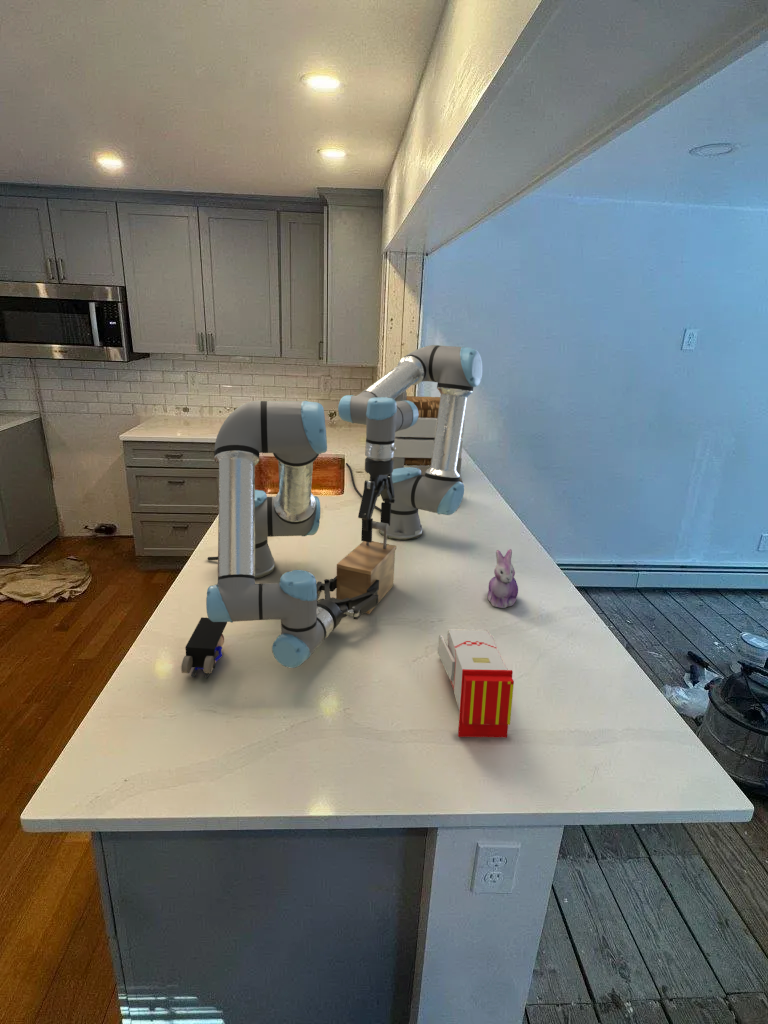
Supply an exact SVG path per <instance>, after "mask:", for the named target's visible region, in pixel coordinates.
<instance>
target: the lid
mask: <svg viewBox="0 0 768 1024" xmlns="http://www.w3.org/2000/svg"><path fill="white" fill-rule="evenodd" d="M388 528H389V524H387V523H382V522H381V521H377V520H376V521H375V520H373V525H372V530H378V531H379V530H383V531H384V536H383V542H379V541H373V540H372V542H366V541H361V543H360V544H358V545H356V547H355V548H354V549H353V550H351V551H350V552H349V553H348V554H347V555H346V556H344V558H342V559H341V560H340V561H339V562H338V563H336V569H337V568H341V569H345V570H350V571H355V572H359V573H364V574H369V575H371V574H372V573H373V572H374V571H375V570H376V569H377V568H378V567H379V566H380V565H381V564H382V563H383V562H384V561H385V560H386V559H387V558H388V557H389V556H390V555H391V554H392V553H393V552H394V551H395V552H396V550H397V545H394V544H390V543H387V540H388V538H387V530H388Z"/></svg>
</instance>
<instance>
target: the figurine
mask: <svg viewBox="0 0 768 1024" xmlns="http://www.w3.org/2000/svg"><path fill="white" fill-rule="evenodd" d="M495 555H496V566H495V567H494V573H493V574H494V576H493V577H492V578H491V579H490V580H489V582H488V591H487V600H488V601H489V603H490V605H491V606H492V607H495V608H500V609H506V608H507V607H511V606H513V605H514V604H515V603H516V601H517V597H518V595H519V585H518V583H517V579H515V575H516V571H515V567H514V565H513V564H512V558H513V557H512V556H513V550H512V548H509V549H508V550H507V551H506V553H505V555H504V556H503V554H502V551H500V550H499V549H497V550H496V551H495Z"/></svg>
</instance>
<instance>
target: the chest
mask: <svg viewBox="0 0 768 1024" xmlns="http://www.w3.org/2000/svg"><path fill="white" fill-rule="evenodd" d="M395 560H396V550H395V551H394V552H393V553H392V554H391V555H390V556H389V557H388V558H387V559H386V560H385V561H384V562H383V563H382V564H381V565H380V566H379V567H378V568H377V569H376V570H375V571H374V572H373V573H372V574H371V575H369V574H364V573H359V572H355V571H350V570H345V569H341V568H337V567H336V576H337V585H336V589H335V590H336V592H335V593H336V594H335V598H336V599H341V600H342V599H345V598H349V599H350V598H353V597H356V596H359V595H362V594H364V593H367V589H368V588H369V587H370V586H371V585H372V584H373V583H374V582H375V581H376V580H379V590H378V592H377V595H379V596H378V604H379V603H381V601H382V600H383V598H384V597H385V596H386V595H387V594H388V593H389V592H390V590H391V589H392V588H393V587H394V578H395V577H394V576H395ZM376 607H377V606H375V607H373V608H372V609H370V610H369V611H367V612H365V613H364V614H368V615H370V614H371V613H372V611H374V609H375V608H376Z"/></svg>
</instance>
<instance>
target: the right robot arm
mask: <svg viewBox="0 0 768 1024" xmlns="http://www.w3.org/2000/svg"><path fill="white" fill-rule="evenodd" d="M482 378H483V360H482V357H481V354H480V352H479V351H478V350H477V349H475V348H472V347H466V346H453V345H438V344H429V345H425V346H423V347H420V348H418V349H414V350H413V351H411V352H409V353H408V354H406V355H404V356H403V357H401V358H400V360H399V361H398V363H397V365H396V366H395V367H393V368H392V369H391V370H390V371H388V372H387V373H386V374H384V375H383V376H381V377H380V378H379V379H377V380H376V381H375V382H373V383H372V384H371V385H369V386H368V387H367V388H365V389H364V390H362V391H361V392H359V394H357V395H353V394H351V395H349V394H346V395H343V396H342V397H341V398H340V400H339V403H338V406H337V410H338V415H339V418H340V419H341V421H344V422H347V423H351V424H357V425H364V426H365V427H366V431H365V435H366V436H365V449H364V453H365V454H364V455H365V459H364V471H365V473H367V474H369V480H365V481H364V483H363V484H364V485H363V492H362V493H361V492H360V491H359V490H358V487H357V485H356V483H355V480H354V475H353V473H354V472H353V470H352V467H351V466H350V465H349V463H347V462H346V463H345V465H346V466H347V468H348V469H349V472H350V477H351V478H350V479H351V483H352V486H353V489H354V490H355V492H356V493H357V494H358V496H359V497H360V498H361V501H360V506H359V511H358V516H357V518H358V519H361V537H360V538H361V542H363V541H366V542H372V541H373V529H372V525H373V521H374V519H373V518H372V516H373V513H374V510H375V509H376V510H378V511H379V512H380V522H382V523H387V524H389V528H388V530H387V539H389V540H395V541H410V540H415V539H418V538H420V537H421V536H422V535H423V525H422V524H421V518H420V515H419V510H421V511H426V512H429V513H435V514H437V515H443V516H444V515H445V516H451V515H453V514H454V513H456V512H457V510H458V509H459V508H460V506H461V503H462V502H463V498H464V494H465V485H464V483H461V482H459V479H460V478H461V474H460V475H459V474H458V472H457V471H456V468H457V462H458V455H459V448H460V442H461V440H462V438H461V435H462V428H463V422H464V423H465V421H464V420H465V416H466V415H465V414H466V408H467V401H468V397H469V396H470V395H472V394H473V393H474V388H476V387H478V386H479V385H480V384H481V381H482ZM422 382H432V383H437V384H436V389H437V391H438V392H439V393H440V396H439V397H440V403H439V410H438V417H437V425H436V432H435V439H434V446H433V453H432V460H431V465H430V466H429V468H427V469H426V470H424V474H422V470H421V468H419V467H414V466H411V467H409V466H406V467H404V468H397V469H393V463H394V460H393V459H392V458H393V457H394V451H395V450H396V448H395V447H394V442H395V432H396V431H399V430H403V429H406V428H407V429H408V428H409V427H411V426H413V425H414V424H415V423H416V422H417V420H418V416H419V413H418V409H417V407H416V405H415V404H414V403H413V402H411V401H407V400H406V401H404V400H401V401H399V402H398V401H395V400H394V399H395V398H397V397H398V396H399V395H400V394H402V393H403V392H404V391H405V390H406V391H407V390H408V389H409V388H410V387H412V386H417V385H419V384H420V383H422ZM379 497H380V498H381V500H382V502H381V503H380V507H378V506H377V505H376V504H377V501H378V498H379ZM378 533H379V534H380V535H381V536H382V537H384V531H383V530H378Z"/></svg>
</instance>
